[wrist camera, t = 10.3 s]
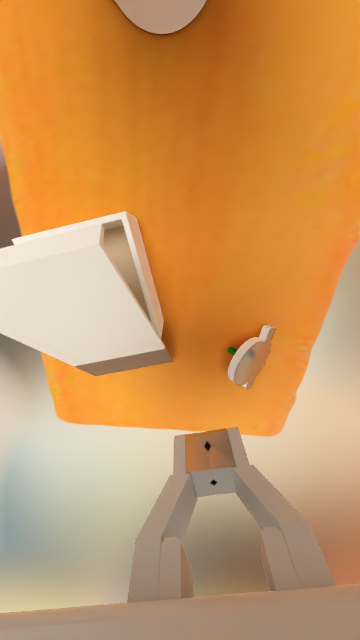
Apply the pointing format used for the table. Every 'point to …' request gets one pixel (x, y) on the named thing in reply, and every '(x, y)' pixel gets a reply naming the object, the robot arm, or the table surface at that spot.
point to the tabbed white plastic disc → (250, 358)
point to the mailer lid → (75, 304)
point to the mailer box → (121, 258)
